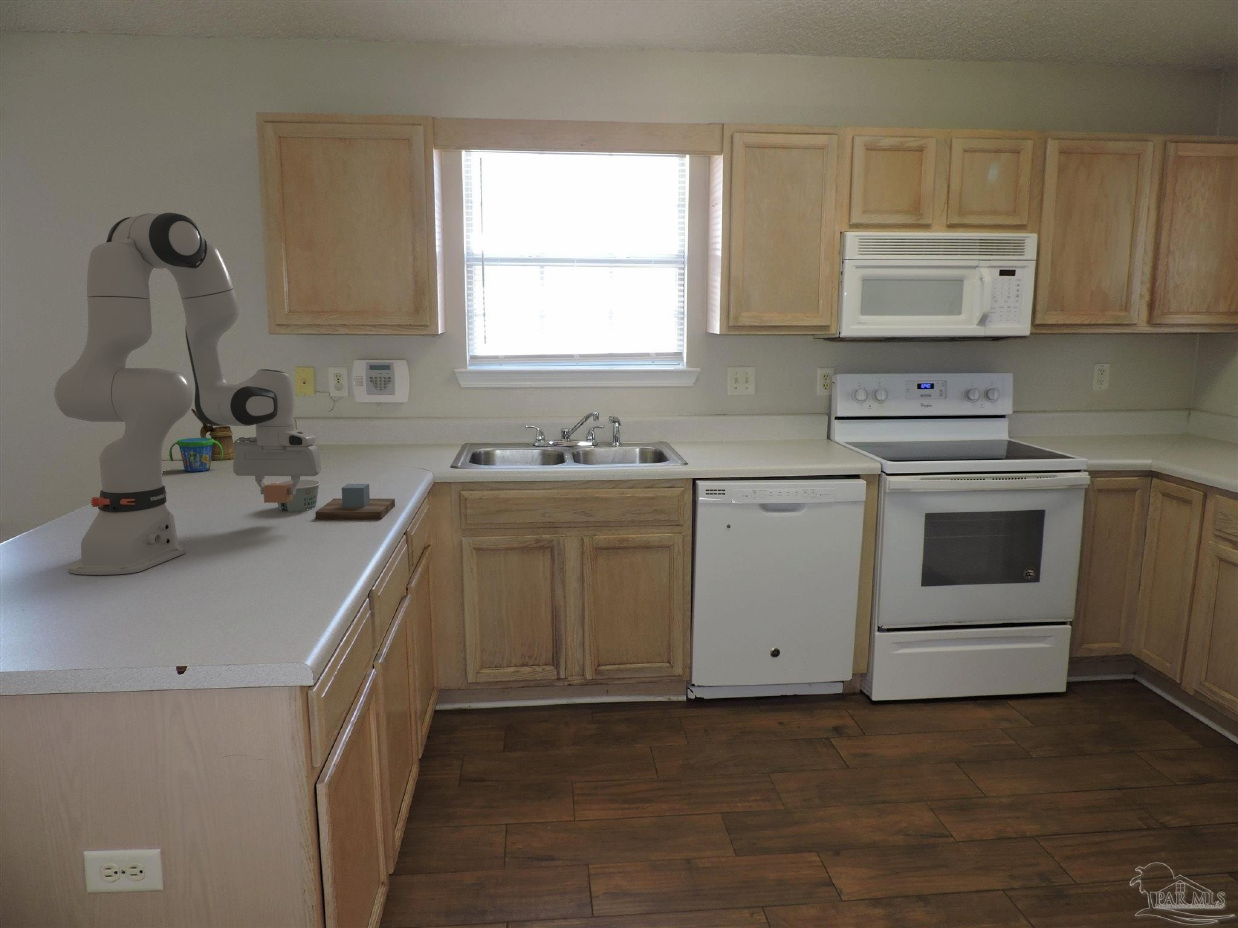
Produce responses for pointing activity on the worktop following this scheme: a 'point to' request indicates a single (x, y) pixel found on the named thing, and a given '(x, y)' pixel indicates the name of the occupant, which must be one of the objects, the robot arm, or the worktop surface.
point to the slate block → (355, 495)
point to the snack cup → (196, 453)
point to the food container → (302, 496)
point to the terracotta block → (277, 493)
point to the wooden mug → (218, 439)
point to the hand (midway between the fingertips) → (278, 494)
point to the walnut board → (355, 510)
